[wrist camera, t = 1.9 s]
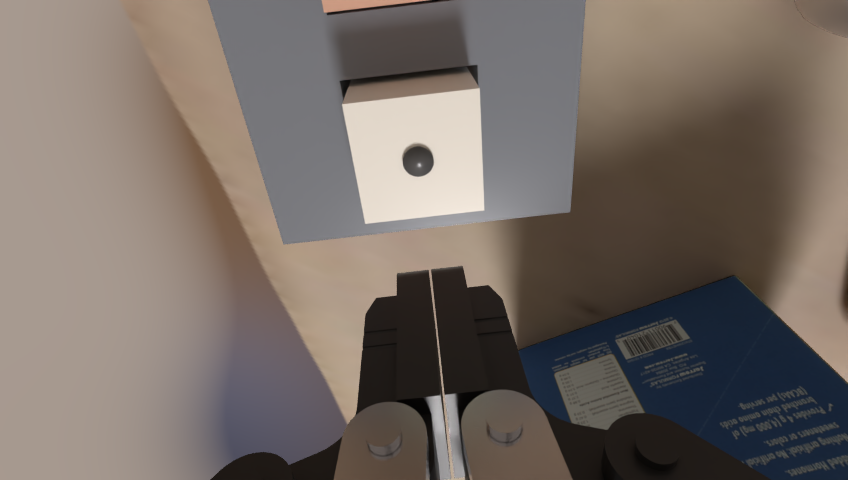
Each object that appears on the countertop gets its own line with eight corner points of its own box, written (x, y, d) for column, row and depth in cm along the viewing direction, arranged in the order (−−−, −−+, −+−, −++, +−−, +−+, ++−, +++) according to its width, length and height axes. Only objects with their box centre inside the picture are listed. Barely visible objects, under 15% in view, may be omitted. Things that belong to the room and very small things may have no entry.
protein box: (748, 371, 35) (959, 622, 22) (553, 432, 38) (636, 688, 25) (737, 270, 30) (1005, 518, 17) (512, 349, 33) (589, 615, 20)
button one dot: (352, 76, 21) (341, 105, 17) (464, 63, 21) (480, 89, 17) (370, 179, 23) (365, 225, 19) (470, 168, 23) (484, 211, 19)
